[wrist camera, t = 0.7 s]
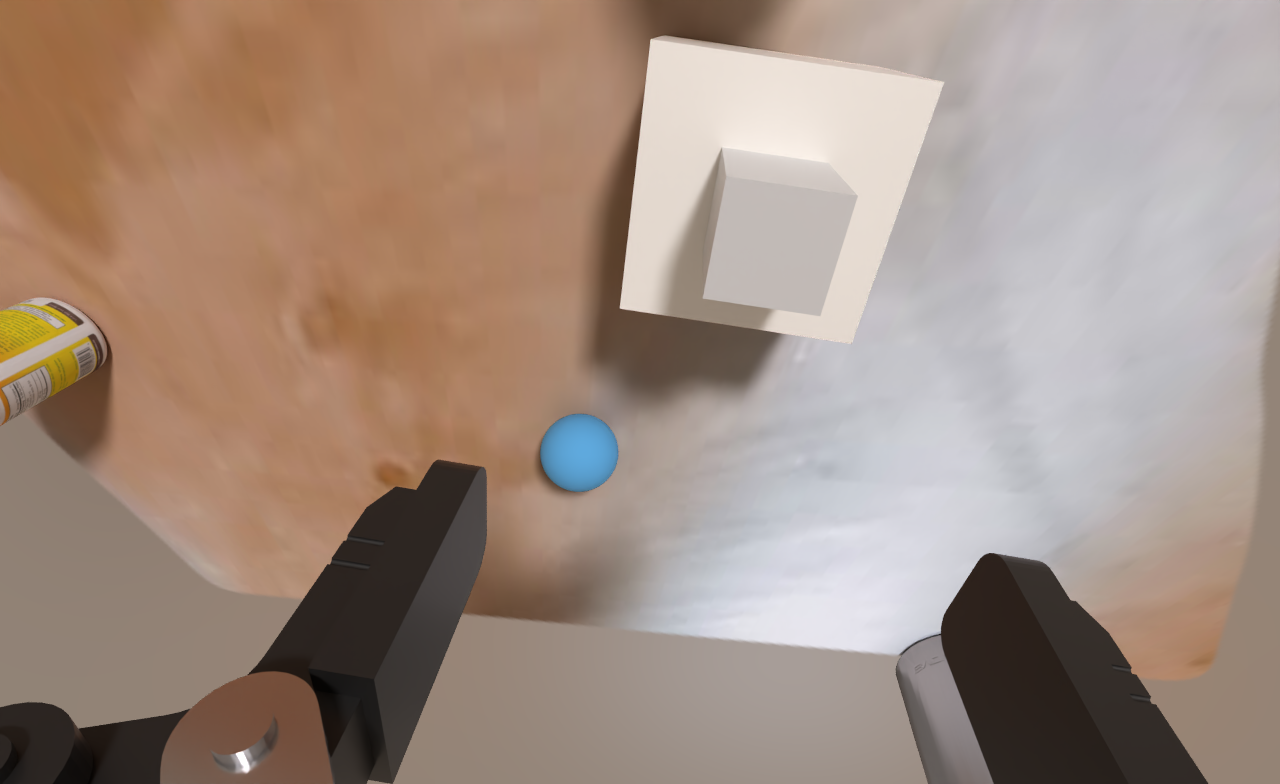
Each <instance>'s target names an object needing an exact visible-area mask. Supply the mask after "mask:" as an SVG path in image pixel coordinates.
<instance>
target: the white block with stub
mask: <svg viewBox="0 0 1280 784" xmlns="http://www.w3.org/2000/svg"><path fill="white" fill-rule="evenodd" d="M943 84H944V82H941V81H937V80H932V79H928V78H924V77H920V76H916V75H912V74H908V73H903V72H899V71H895V70H891V69H887V68H883V67H878V66H871V65H864V64H857V63H851V62H844V61H837V60H830V59H823V58H817V57H810V56H803V55H796V54H789V53H783V52H776V51H769V50H762V49H755V48H749V47H742V46H735V45H728V44H721V43H715V42H708V41H701V40H694V39H687V38H680V37H674V36H667V35H664V36H660V37H657V38H653V39H651V41H650V50H649V59H648V67H647V76H646V85H645V93H644V102H643V111H642V120H641V128H640V137H639V146H638V154H637V163H636V172H635V180H634V189H633V198H632V206H631V215H630V224H629V233H628V241H627V250H626V259H625V267H624V276H623V285H622V293H621V302H620V309H626V310H633V311H639V312H646V313H652V314H659V315H665V316H672V317H678V318H685V319H692V320H698V321H705V322H711V323H718V324H724V325H731V326H738V327H744V328H751V329H757V330H764V331H770V332H777V333H784V334H790V335H797V336H803V337H810V338H816V339H823V340H829V341H836V342H843V343H849V344H852V341H853V339H854V336H855V333H856V330H857V327H858V324H859V322H860V319H861V316H862V313H863V310H864V307H865V305H866V302H867V299H868V296H869V293H870V291H871V288H872V285H873V282H874V279H875V276H876V274H877V271H878V268H879V265H880V262H881V259H882V257H883V254H884V251H885V248H886V245H887V242H888V240H889V237H890V234H891V231H892V228H893V225H894V223H895V220H896V217H897V214H898V211H899V208H900V206H901V203H902V200H903V197H904V194H905V191H906V189H907V186H908V183H909V180H910V177H911V174H912V172H913V169H914V166H915V163H916V160H917V158H918V155H919V152H920V149H921V146H922V143H923V141H924V138H925V135H926V132H927V129H928V126H929V124H930V121H931V118H932V115H933V112H934V109H935V107H936V104H937V101H938V98H939V95H940V92H941V90H942V87H943Z"/></svg>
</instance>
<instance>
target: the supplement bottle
mask: <svg viewBox="0 0 1280 784" xmlns="http://www.w3.org/2000/svg"><path fill="white" fill-rule="evenodd" d="M106 357H107V346H106V342H105V339H104V337H103V335H102V333H101V332H100V330H99V329H98V327H97V326H96V325H95V324H94V323H93V321H92V320H91V319H90V318H88V317H87V316H86V315H85V314H84V313H82V312H81V311H80V310H78V309H76V308H75V307H73V306H71V305H69V304H67V303H65V302H62V301H59V300H56V299H51V298H33V299H29V300H26V301H24V302H21V303H19V304H16V305H14V306H12V307H9V308H7V309H4V310H2V311H0V426H1V425H3V424H4V423H6V422H8V421H9V420H11V419H13V418H14V417H16V416H18V415H20V414H22V413H23V412H25V411H27V410H28V409H30V408H32V407H34V406H35V405H37V404H39V403H41V402H42V401H44V400H46V399H47V398H49V397H51V396H53V395H54V394H56V393H58V392H59V391H61V390H63V389H65V388H66V387H68V386H70V385H71V384H73V383H75V382H77V381H78V380H80V379H82V378H83V377H85V376H87V375H89V374H90V373H92V372H94V371H95V370H97V369H98V368H100V367H101V366H102V365H103V363H104V362H105V360H106Z"/></svg>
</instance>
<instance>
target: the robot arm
mask: <svg viewBox="0 0 1280 784" xmlns="http://www.w3.org/2000/svg"><path fill="white" fill-rule="evenodd" d="M486 536H487V477H486V470H485V468H484V467H480V466H474V465H468V464H462V463H456V462H450V461H444V460H436V461H435V462H434V463H433V464H432V465H431V467H430V468H429V470H428V472H427V473H426V475H425V477H424V478H423V480H422V482H421V483H420V485H419V487H418V488H417V490H414V489H408V488H402V487H395V488H393V489H392V490H390V491H389V492H388V493H386V494H385V495H383V496H382V497H381V498H379V499H378V500H377V501H375V502H374V503H372V504H371V505H370V506H368V507H367V508H366V509H365V511H364V512H363V514H362V515H361V516H360V518H359V519H358V521H357V522H356V524H355V525H354V527H353V528H352V530H351V531H350V532H349V534H348V538H347V540H346V541H343V543H342V544H341V545H340V547H339V548H338V550H337V551H336V553H335V554H334V556H333V557H332V561H331V563H330V565H329V564H327V566H326V567H325V569H324V570H323V572H322V573H321V575H320V576H319V577H318V579H317V580H316V582H315V583H314V585H313V586H312V588H311V589H310V590H309V592H308V593H307V595H306V596H305V598H304V599H303V601H302V602H301V604H300V605H299V607H298V608H297V609H296V611H295V612H294V614H293V615H292V617H291V618H290V619H289V621H288V622H287V624H286V625H285V627H284V628H283V630H282V631H281V633H280V634H279V636H278V637H277V638H276V640H275V641H274V643H273V644H272V646H271V647H270V649H269V650H268V651H267V653H266V654H265V656H264V657H263V658H262V660H261V661H260V662H259V663H258V665H257V666H256V667H255V668H254V669H253V670H252V671H251V672H250V673H249V674H248V675H247V676H244V677H240V678H237V679H235V680H233V681H230V682H228V683H226V684H224V685H223V686H221V687H219V688H217V689H215V690H214V691H212V692H211V693H209V694H208V695H207V696H205V697H204V698H202V699H201V700H200V701H199V702H198V703H197V704H196V705H194V706H193V707H192V708H191V709H188V710H185V711H182V712H179V713H174V714H169V715H164V716H158V717H151V718H145V719H139V720H132V721H125V722H119V723H112V724H106V725H99V726H93V727H86V728H80V729H78V728H77V726H76V725H75V723H74V722H73V721H72V719H71V718H70V717H69V715H68V714H67V713H66V712H65V711H64V710H62V709H61V708H58V707H56V706H54V705H51V704H45V703H29V702H28V703H20V704H13V705H9V706H4V707H0V784H367V781H368V780H374V781H379V782H385V783H391V784H393V782H394V780H395V777H396V775H397V772H398V770H399V767H400V765H401V762H402V760H403V757H404V755H405V752H406V750H407V747H408V745H409V742H410V740H411V738H412V735H413V732H414V730H415V727H416V725H417V723H418V720H419V718H420V715H421V713H422V711H423V708H424V705H425V703H426V701H427V698H428V696H429V693H430V690H431V688H432V686H433V683H434V681H435V679H436V676H437V673H438V671H439V669H440V666H441V664H442V661H443V659H444V656H445V653H446V651H447V649H448V647H449V644H450V642H451V639H452V636H453V634H454V632H455V629H456V627H457V624H458V622H459V619H460V617H461V615H462V612H463V610H464V607H465V605H466V602H467V600H468V597H469V595H470V592H471V590H472V587H473V585H474V583H475V580H476V578H477V575H478V572H479V570H480V567H481V563H482V559H483V555H484V551H485V545H486ZM896 676H897V680H898V683H899V687H900V690H901V693H902V696H903V700H904V703H905V707H906V710H907V713H908V717H909V721H910V724H911V728H912V731H913V734H914V738H915V741H916V744H917V748H918V751H919V754H920V758H921V761H922V764H923V768H924V771H925V775H926V778H927V782H928V784H1208V782H1207V781H1206V779H1205V778H1204V776H1203V775H1202V773H1201V772H1200V770H1199V769H1198V767H1197V766H1196V764H1195V763H1194V761H1193V760H1192V758H1191V757H1190V755H1189V754H1188V752H1187V751H1186V749H1185V748H1184V746H1183V745H1182V743H1181V742H1180V740H1179V739H1178V737H1177V736H1176V734H1175V733H1174V731H1173V730H1172V728H1171V726H1170V725H1169V723H1168V722H1167V720H1166V719H1165V717H1164V716H1163V714H1162V713H1161V711H1160V710H1159V708H1158V707H1157V705H1155V704H1151V702H1150V697H1151V696H1150V695H1149V693H1148V692H1147V690H1146V689H1145V687H1144V686H1143V684H1142V683H1141V681H1140V680H1139V678H1138V677H1137V675H1135V674H1132V673H1131V666H1130V664H1129V663H1128V661H1127V660H1126V658H1125V657H1124V655H1123V654H1122V652H1121V651H1120V649H1119V648H1118V646H1117V645H1116V643H1115V642H1114V640H1113V639H1112V637H1111V636H1110V634H1109V633H1108V632H1107V631H1106V630H1105V629H1104V628H1103V627H1102V626H1101V625H1100V624H1099V623H1098V622H1097V621H1096V620H1095V619H1094V618H1093V617H1092V616H1091V615H1089V614H1088V613H1087V612H1086V611H1085V610H1084V609H1083V608H1082V607H1081V606H1080V605H1079V604H1078V603H1077V602H1076V601H1071V600H1070V599H1069V597H1068V596H1067V594H1066V592H1065V591H1064V589H1063V588H1062V586H1061V585H1060V583H1059V581H1058V580H1057V578H1056V577H1055V575H1054V573H1053V572H1052V571H1051V569H1050V568H1049V567H1048V566H1047V565H1046V564H1044V563H1043V562H1040V561H1036V560H1030V559H1024V558H1018V557H1012V556H1006V555H1000V554H994V553H989V554H986V555H984V556H983V557H982V558H980V560H979V561H978V563H977V564H976V566H975V567H974V569H973V570H972V572H971V573H970V575H969V576H968V578H967V580H966V581H965V583H964V584H963V586H962V587H961V589H960V590H959V592H958V593H957V595H956V597H955V598H954V600H953V601H952V603H951V604H950V606H949V607H948V609H947V610H946V612H945V614H944V617H943V621H942V626H941V635H939V636H935V637H931V638H928V639H926V640H924V641H921V642H919V643H917V644H916V645H914V646H912V647H911V648H909V649H908V650H907V651H906V652H905V653H904V654H903V655H902V656H901V658H900V659H899V661H898V663H897V666H896Z"/></svg>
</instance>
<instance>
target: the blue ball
mask: <svg viewBox="0 0 1280 784" xmlns="http://www.w3.org/2000/svg"><path fill="white" fill-rule="evenodd" d="M540 457H541V463H542V466H543V469H544V471H545V473H546V474H547V476H548V477H549V478H550V479H551V480H552V481H553V482H554V483H555V484H556V485H558V486H560V487H561V488H563V489H566V490H569V491H575V492H583V491H589V490H592V489H595V488H597V487H599V486H600V485H602V484H603V483H604V482H605V481H606V480H607V479H608V478H609V477H610V476H611V474H612V473H613V471H614V469H615V467H616V464H617V460H618V444H617V441H616V438H615V436H614V434H613V432H612V430H611V429H610V428H609V427H608V426H607V425H606V424H605V423H604V422H603V421H602V420H600V419H598V418H596V417H594V416H591V415H587V414H572V415H568V416H566V417H563V418H561V419H559V420H558V421H556V422H555V423H554V424H553V425H552V426H551V427H550V428H549V429H548V431H547V432H546V434H545V436H544V438H543V440H542V444H541V449H540Z"/></svg>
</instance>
